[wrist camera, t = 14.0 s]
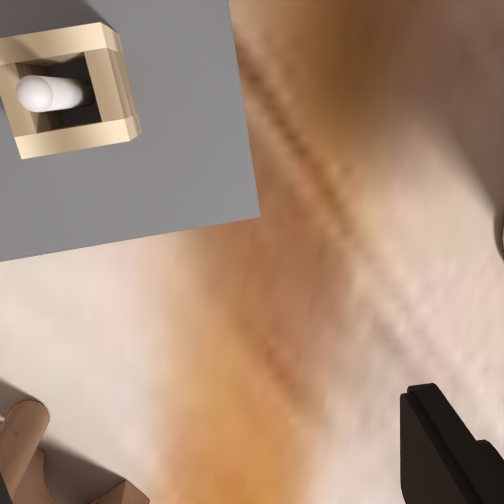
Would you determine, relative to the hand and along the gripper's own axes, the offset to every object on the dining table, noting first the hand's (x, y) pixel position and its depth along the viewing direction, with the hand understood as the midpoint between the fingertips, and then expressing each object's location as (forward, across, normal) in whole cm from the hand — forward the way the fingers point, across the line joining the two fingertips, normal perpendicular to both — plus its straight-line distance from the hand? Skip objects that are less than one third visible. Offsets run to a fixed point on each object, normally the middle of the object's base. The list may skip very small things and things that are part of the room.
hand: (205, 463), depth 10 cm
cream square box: (+23, +8, -9) cm, 26 cm away
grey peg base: (+24, +8, -9) cm, 27 cm away
